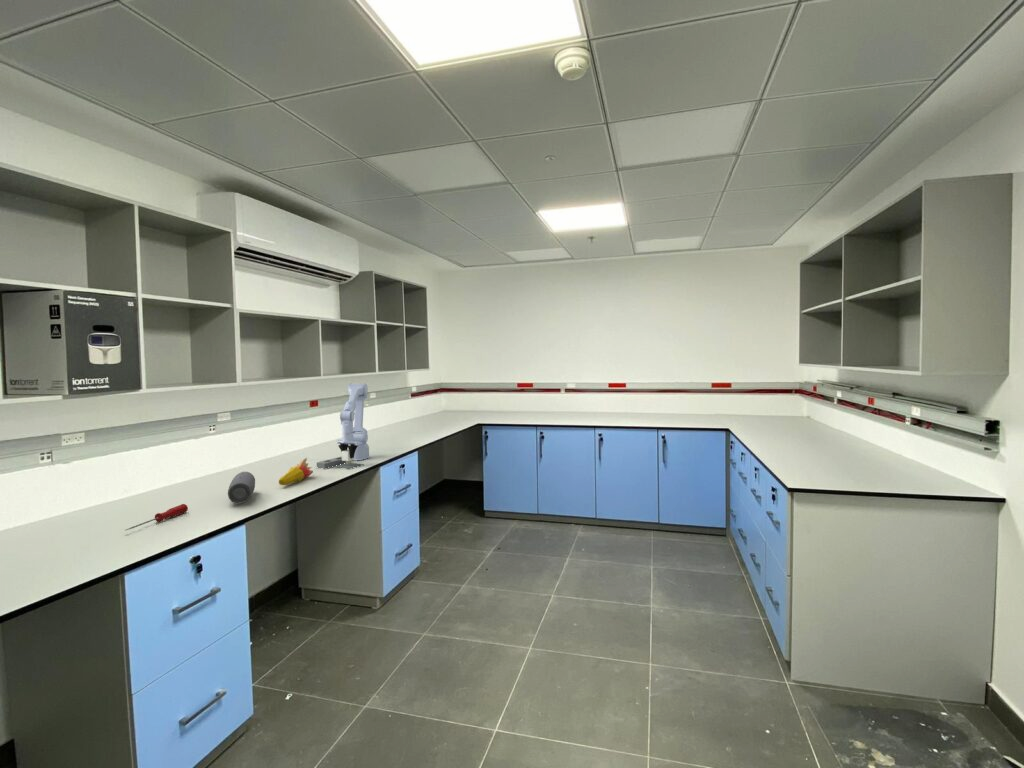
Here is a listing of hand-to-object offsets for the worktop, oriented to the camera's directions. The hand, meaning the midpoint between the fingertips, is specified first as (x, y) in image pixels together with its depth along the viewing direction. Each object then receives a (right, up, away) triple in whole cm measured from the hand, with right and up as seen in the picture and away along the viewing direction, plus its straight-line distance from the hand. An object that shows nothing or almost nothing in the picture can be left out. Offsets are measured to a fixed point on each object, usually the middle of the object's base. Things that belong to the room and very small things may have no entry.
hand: (348, 457), depth 268 cm
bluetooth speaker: (-24, -9, -61) cm, 66 cm away
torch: (-15, -7, -33) cm, 37 cm away
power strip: (-9, -5, +4) cm, 11 cm away
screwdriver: (-39, -10, -91) cm, 99 cm away
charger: (0, -3, 0) cm, 3 cm away
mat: (0, -5, 0) cm, 5 cm away
